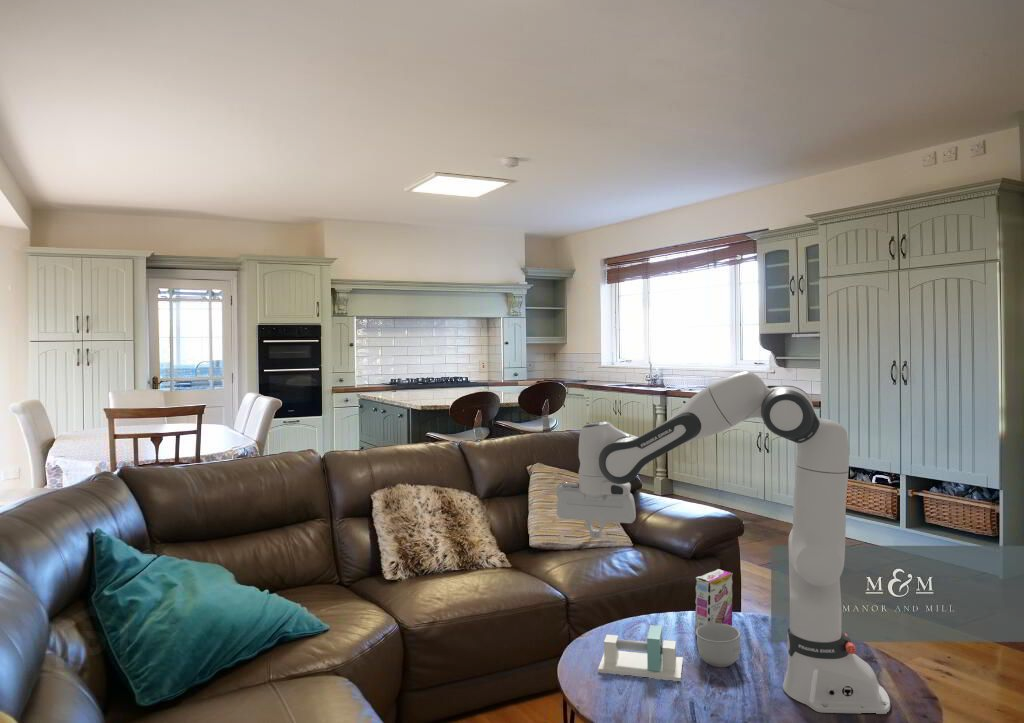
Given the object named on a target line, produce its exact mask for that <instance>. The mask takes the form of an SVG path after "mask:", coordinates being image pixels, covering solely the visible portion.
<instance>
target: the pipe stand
mask: <svg viewBox="0 0 1024 723" xmlns="http://www.w3.org/2000/svg"><path fill="white" fill-rule="evenodd" d="M660 652H661V654H662V655H663V657H662V663H661V668H660V671H652V670H648V665H647V641H642V640H633V639H632V640H631V639H622V638H619V635H616V634H606V635H605V638H604V640H603V654H602V657H601V660H600V663H599V665H598V667H597V668H598V669H597V670H598V671H597V673H599V674H607V673H612V674H611V675H616V674H621V675H620V676H624V675H635V676H643V677H649V678H648V679H651V678H655V679H654V680H660V679H663V680H662V681H668V680H673V681H672V682H677V681H680V682H682V674H683V666H682V665H684V657H681V656H677V641H676V640H666V639H664V640H663V641H662V643H661V644H660ZM681 673H682V674H681ZM680 682H679V683H680Z"/></svg>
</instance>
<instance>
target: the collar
mask: <svg viewBox="0 0 1024 723" xmlns="http://www.w3.org/2000/svg"><path fill="white" fill-rule="evenodd" d="M646 642H647V652H646V654H647V665H648V670H652V671H660V668H661V663H662V657H663V655H662V654H661V652H660V644H661V643H663V625H653V624H650V626H649V629H648V633H647V637H646Z"/></svg>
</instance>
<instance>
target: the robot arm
mask: <svg viewBox="0 0 1024 723" xmlns="http://www.w3.org/2000/svg"><path fill="white" fill-rule="evenodd" d="M814 408H815V407H814V405H813V402H812V399H811V398H810V396H809V394H808V393H807V392H806V391H804V390H803V389H801V388H800V387H796V386H794V385H766V384H765V382H764V381H763V379H761V377H759V375H757V374H755V373H754V372H752V371H748V370H747V371H745V370H744V371H741V372H738V373H735V374H732V375H729V376H727V377H724V378H722V379H719V380H718V381H716V382H714V383H712V384H710V385H708V386H706V387H705V388H703V389H701V390H700V391H699V392H697V393H696V394H694V395H692V397H691V398H689V399H688V400H687V401H685V403H684V404H682V406H681V407H680V408H679V409H678V410H677V411H676V412H674V414H673V415H672V416H671V417H669V418H668V419H667V420H666V421H665V422H663V423H662V424H660V425H658V426H656V427H654V428H652V429H651V430H649V431H647V432H646V433H644V434H642V435H640V436H637V435H633V434H630V433H628V432H625V431H623V430H621V429H619V428H617V427H616V426H614V425H613V424H612V423H611V422H609V421H607V420H606V421H605V420H604V421H603V420H601V421H595V422H590V423H587V424H585V425H584V426H583V427H582V428H581V429H580V433H579V439H578V459H579V463H580V464H579V467H578V468H579V469H578V482H561V484H560V483H559V485H557V486H556V493H555V494H556V497H557V505H556V515H557V517H558V518H559V519H562V520H563V519H564V520H575V521H576V520H577V521H585V526H586V527H587V529H588V531H589V537H590V538H595V539H602V537H603V530H604V528H605V527H606V525H607V523H618V524H633V522H635V520H636V516H637V515H636V514H637V512H636V503H635V498H634V496H633V494H632V493H631V489H632V488H631V487H632V484H631V483H630V482H632V481H633V480H634V479H635V478H636V477H637V476H638V474H640V473H641V472H642V471H644V469H645V468H646V467H647V465H649V463H650V462H651V461H654V460H655V459H657V458H659V457H661V456H663V455H665V454H666V453H668V452H670V451H672V450H674V449H675V448H677V447H679V446H682V445H685V444H688V443H691V442H693V441H697V440H701V439H703V438H704V439H705V438H707V437H711V436H713V435H717V434H718V433H722V432H725V431H726V430H729V429H731V428H732V427H734V426H736V425H738V424H740V423H742V422H743V421H745V420H748V419H750V418H760V419H762V421H763V423H764V425H765V427H766V428H767V430H769V431H770V432H771V433H773V434H774V435H776V436H777V437H780V438H783V439H786V440H789V441H791V442H793V443H795V444H796V446H797V447H796V448H797V453H796V463H795V464H796V465H795V476H794V477H795V478H794V479H795V480H794V489H793V510H792V511H793V512H792V528H791V530H790V533H789V535H788V575H789V576H788V577H789V581H788V582H789V627H788V628H787V638H786V639H787V652H788V660H787V661H788V662H787V668H786V673H785V677H784V680H783V683H782V689H783V691H784V692H785V694H786V695H787V696H789V697H790V698H792V699H794V701H797V702H800V703H802V704H803V705H806V706H807V707H809V708H811V709H812V710H814V711H815V712H818V713H829V714H831V713H832V714H834V713H835V714H861V713H876V714H875V715H886V714H887V712H888V713H889V711H890V710H891V700H890V697H889V695H888V692H887V691H886V689H885V688H884V687H883V686H881V684H880V683H879V682H878V679H877V675H876V674H875V672H874V670H873V668H872V667H871V665H870V664H868V663H867V662H866V661H864V660H863V659H862V658H861V657H860V656H858V655H857V654H855V653H856V652H857V648H856V645H855V644H854V643H852V640H851V638H850V637H848V634H847V633H846V632H844V633H843V632H842V596H841V594H842V593H841V578H840V577H841V576H842V574H843V571H844V568H845V567H844V566H845V558H846V557H845V556H846V529H847V528H846V526H847V525H846V521H847V520H846V519H847V518H846V517H847V516H846V513H847V512H846V508H847V507H846V506H847V494H848V493H847V492H848V483H849V470H850V469H849V468H850V448H849V447H850V446H849V445H850V444H849V439H848V438H849V437H848V433H847V429H846V428H845V427H844V426H843V425H842V424H840V423H839V422H837V421H834V420H832V419H829V418H828V419H827V418H822V417H820V416H818V415H817V413H816V411H815V409H814ZM593 522H599V525H600V528H599V529H594V527H593V525H592V523H593Z"/></svg>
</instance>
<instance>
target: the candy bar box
mask: <svg viewBox="0 0 1024 723" xmlns="http://www.w3.org/2000/svg"><path fill="white" fill-rule="evenodd" d="M694 614H695V617H694V619H695V622H694V623H695V627H694V628H695V631H694V633H695V634H694V635H695V636H697V635H696V630H697V629H698V628H699V627H700V626H702V625H706V624H707V622H708V621H713V622H714V623H720V624H727V625H730V626H733V572H731V571H727V570H722V569H719V568H717V569H715V570H712V571H710V572H708V573H705V574H701V575H699V576H696V577H695V613H694Z"/></svg>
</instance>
